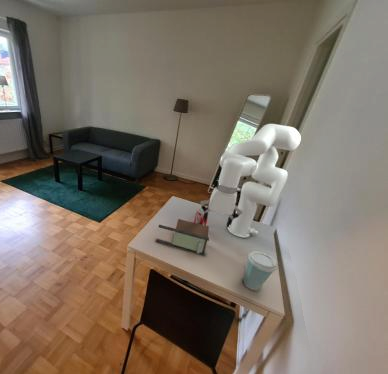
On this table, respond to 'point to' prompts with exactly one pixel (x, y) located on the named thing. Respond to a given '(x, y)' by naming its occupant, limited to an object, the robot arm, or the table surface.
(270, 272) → the disposable coffee cup
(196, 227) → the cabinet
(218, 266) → the table surface
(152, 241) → the table surface
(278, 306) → the table surface
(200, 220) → the soda can
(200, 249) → the pale green block
